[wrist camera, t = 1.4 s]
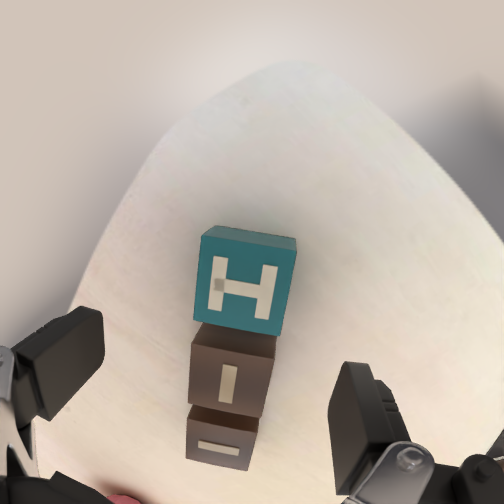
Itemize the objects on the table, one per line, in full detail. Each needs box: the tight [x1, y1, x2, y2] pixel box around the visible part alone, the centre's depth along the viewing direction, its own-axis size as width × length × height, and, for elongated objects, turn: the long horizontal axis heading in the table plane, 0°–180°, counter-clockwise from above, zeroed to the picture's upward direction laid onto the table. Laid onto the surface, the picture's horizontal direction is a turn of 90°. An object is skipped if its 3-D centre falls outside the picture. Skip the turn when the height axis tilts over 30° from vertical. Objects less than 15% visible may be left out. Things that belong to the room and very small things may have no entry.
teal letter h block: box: [193, 226, 297, 336], centre depth 17 cm, size 5×5×3 cm
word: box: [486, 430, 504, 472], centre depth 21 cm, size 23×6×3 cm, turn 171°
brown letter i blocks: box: [186, 322, 277, 471], centre depth 19 cm, size 11×5×3 cm, turn 171°
